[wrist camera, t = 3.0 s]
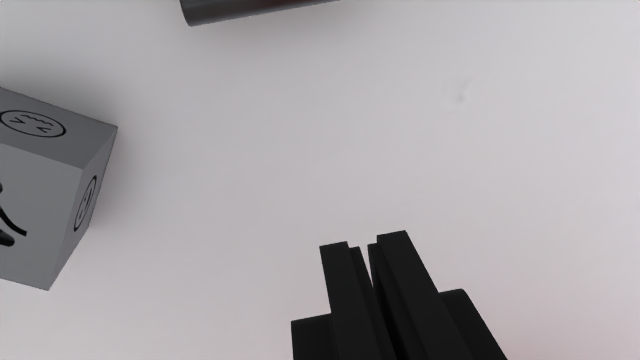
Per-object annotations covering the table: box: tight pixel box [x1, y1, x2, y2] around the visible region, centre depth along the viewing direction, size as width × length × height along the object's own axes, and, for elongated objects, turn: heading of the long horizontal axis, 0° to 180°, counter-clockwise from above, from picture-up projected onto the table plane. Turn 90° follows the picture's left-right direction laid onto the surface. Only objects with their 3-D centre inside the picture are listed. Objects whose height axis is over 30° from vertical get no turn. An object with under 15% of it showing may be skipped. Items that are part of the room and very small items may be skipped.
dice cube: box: [0, 87, 118, 291], centre depth 21 cm, size 5×5×5 cm
